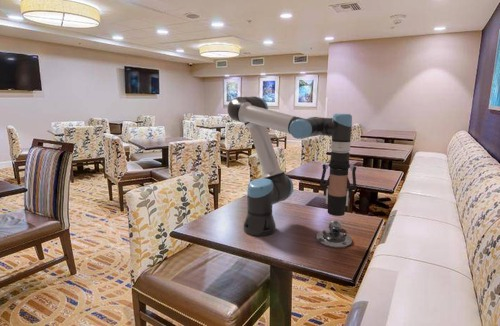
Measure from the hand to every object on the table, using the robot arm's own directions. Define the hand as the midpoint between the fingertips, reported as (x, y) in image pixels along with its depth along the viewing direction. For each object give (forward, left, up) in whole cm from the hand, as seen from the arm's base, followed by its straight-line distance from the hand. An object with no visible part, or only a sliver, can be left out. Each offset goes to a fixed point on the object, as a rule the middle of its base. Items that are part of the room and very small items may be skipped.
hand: (336, 203), depth 136 cm
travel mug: (0, 0, -4) cm, 4 cm away
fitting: (0, +3, -17) cm, 17 cm away
